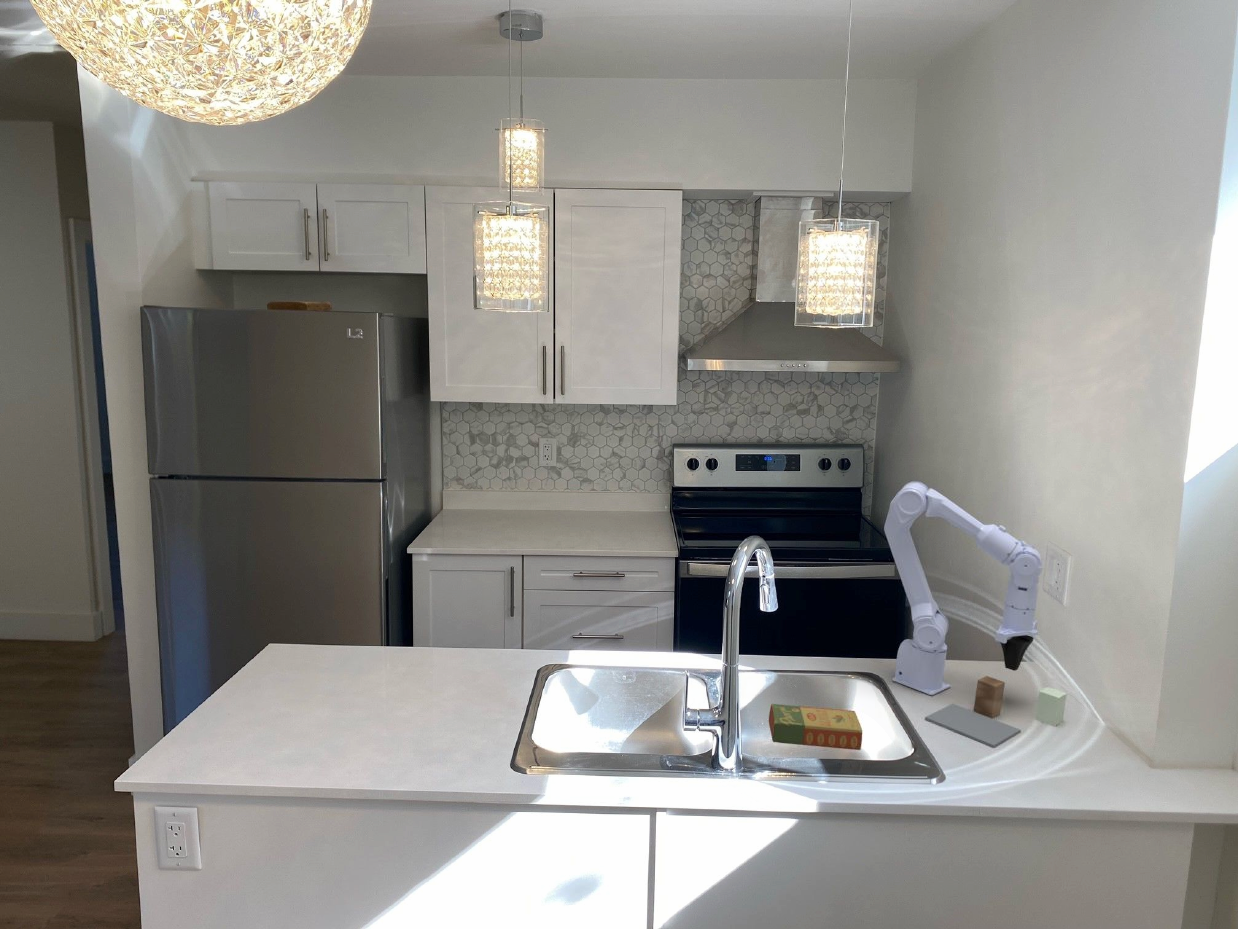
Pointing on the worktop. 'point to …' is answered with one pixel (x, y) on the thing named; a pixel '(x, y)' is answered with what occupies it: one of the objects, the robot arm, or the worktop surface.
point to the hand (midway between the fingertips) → (1011, 668)
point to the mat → (973, 725)
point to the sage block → (1050, 706)
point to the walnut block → (989, 697)
